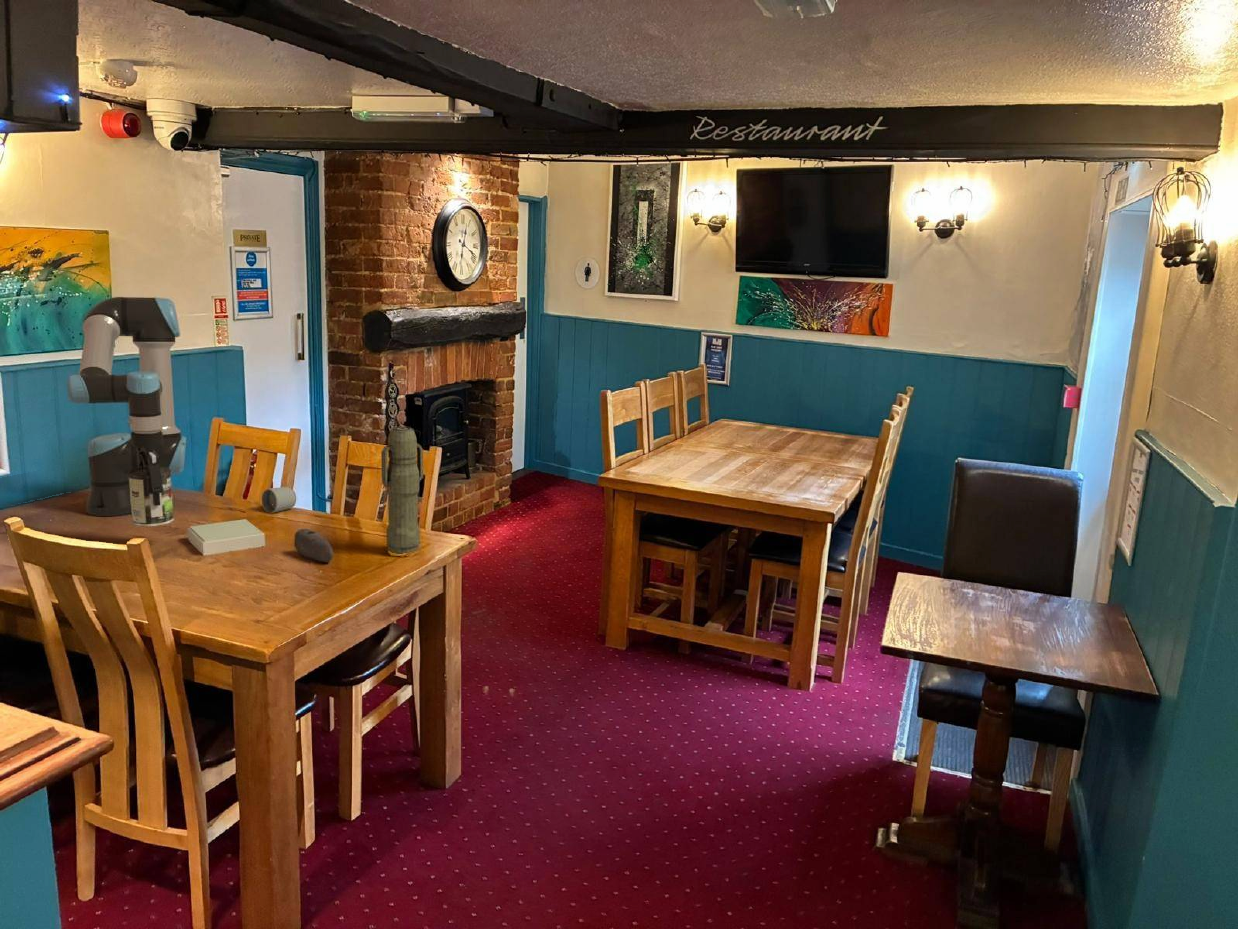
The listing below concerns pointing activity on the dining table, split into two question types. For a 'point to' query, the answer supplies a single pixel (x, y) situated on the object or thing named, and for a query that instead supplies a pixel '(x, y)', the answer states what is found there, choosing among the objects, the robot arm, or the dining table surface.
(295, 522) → the dining table surface
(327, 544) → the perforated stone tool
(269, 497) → the grey cylinder
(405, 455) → the thermos
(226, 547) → the plinth
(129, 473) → the coffee can
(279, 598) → the dining table surface
